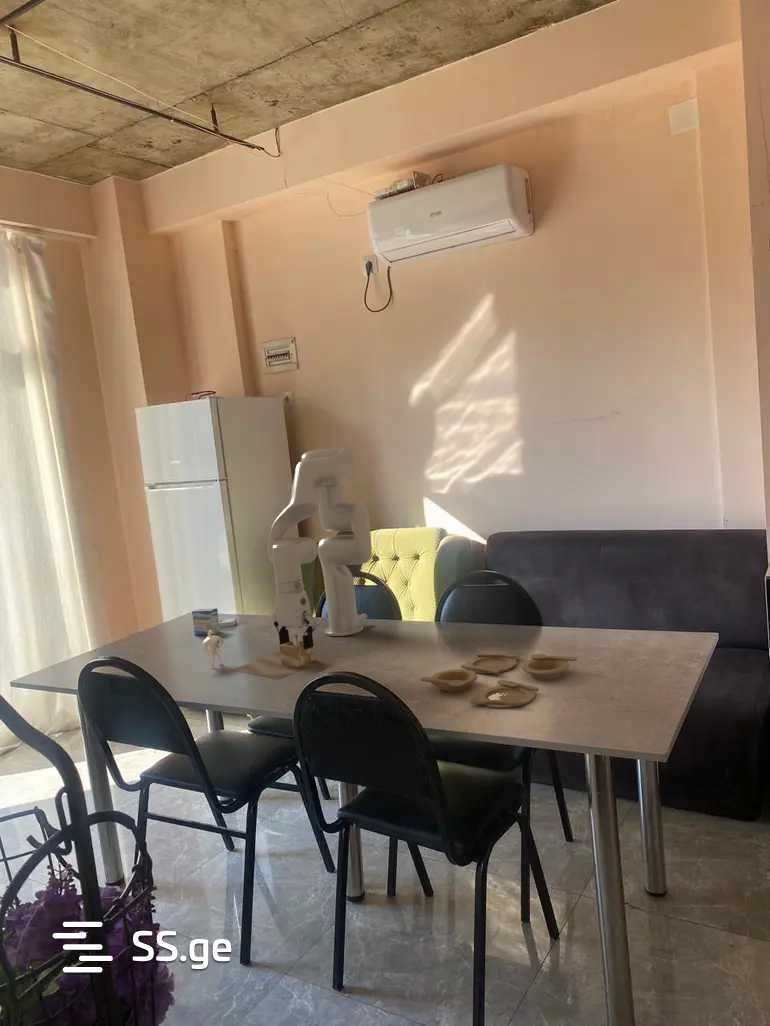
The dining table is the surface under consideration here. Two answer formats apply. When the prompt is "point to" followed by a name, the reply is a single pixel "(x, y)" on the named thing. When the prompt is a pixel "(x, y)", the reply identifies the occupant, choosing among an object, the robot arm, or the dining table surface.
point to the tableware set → (496, 663)
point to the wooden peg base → (274, 665)
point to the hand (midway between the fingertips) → (296, 646)
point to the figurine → (213, 647)
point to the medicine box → (205, 621)
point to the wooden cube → (296, 654)
